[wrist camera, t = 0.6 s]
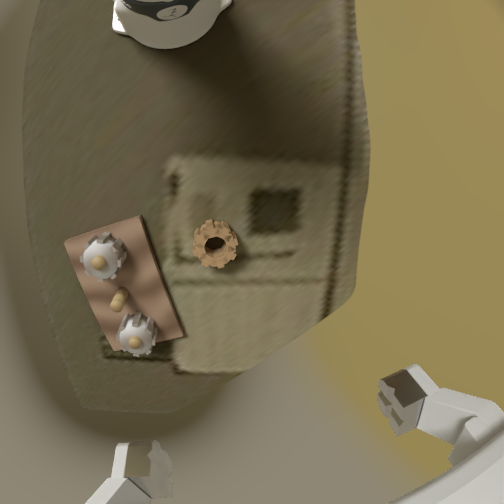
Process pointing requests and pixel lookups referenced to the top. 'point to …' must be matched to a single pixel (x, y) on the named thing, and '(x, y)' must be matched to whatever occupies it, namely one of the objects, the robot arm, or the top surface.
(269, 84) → the top surface
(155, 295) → the gear board
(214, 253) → the oak gear
